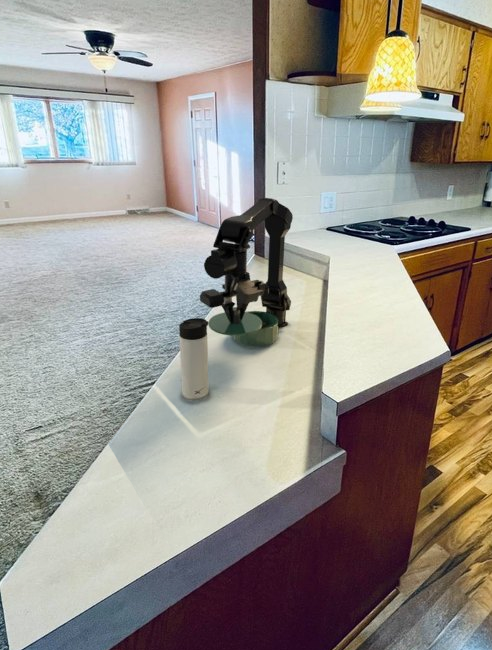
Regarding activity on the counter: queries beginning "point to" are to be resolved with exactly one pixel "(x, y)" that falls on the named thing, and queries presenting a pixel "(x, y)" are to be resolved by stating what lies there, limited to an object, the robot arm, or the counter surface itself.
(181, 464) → the counter surface
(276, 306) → the robot arm
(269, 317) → the pot
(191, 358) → the travel mug
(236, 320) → the lid
